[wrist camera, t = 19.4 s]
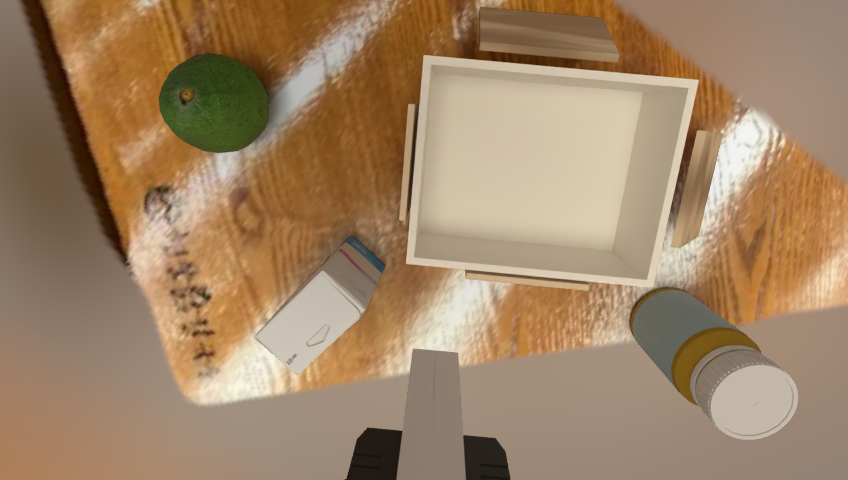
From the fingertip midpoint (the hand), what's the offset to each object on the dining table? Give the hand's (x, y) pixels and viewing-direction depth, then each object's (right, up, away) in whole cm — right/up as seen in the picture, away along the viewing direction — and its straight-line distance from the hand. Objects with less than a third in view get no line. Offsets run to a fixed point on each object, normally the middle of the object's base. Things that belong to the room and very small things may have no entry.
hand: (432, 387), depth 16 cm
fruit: (-17, +18, +30) cm, 39 cm away
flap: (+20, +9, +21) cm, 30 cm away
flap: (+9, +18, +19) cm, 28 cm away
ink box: (-9, +1, +34) cm, 35 cm away
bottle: (+24, -3, +33) cm, 41 cm away
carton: (+9, +12, +30) cm, 34 cm away
